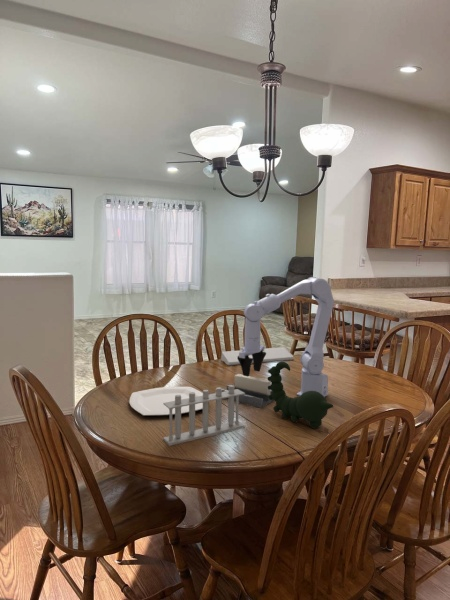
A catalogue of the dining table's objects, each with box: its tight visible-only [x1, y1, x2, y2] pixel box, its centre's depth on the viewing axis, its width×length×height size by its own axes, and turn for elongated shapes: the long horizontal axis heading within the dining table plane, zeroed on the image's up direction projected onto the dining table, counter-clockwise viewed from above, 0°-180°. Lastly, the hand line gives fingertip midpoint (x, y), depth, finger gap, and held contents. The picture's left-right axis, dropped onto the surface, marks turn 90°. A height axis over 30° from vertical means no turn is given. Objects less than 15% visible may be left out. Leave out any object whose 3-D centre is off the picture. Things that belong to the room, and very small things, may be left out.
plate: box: [128, 386, 203, 417], centre depth 150 cm, size 27×27×2 cm
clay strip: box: [233, 373, 271, 395], centre depth 158 cm, size 14×2×6 cm, turn 55°
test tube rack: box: [162, 384, 246, 446], centre depth 126 cm, size 25×4×13 cm, turn 121°
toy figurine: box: [267, 361, 334, 429], centre depth 135 cm, size 9×19×25 cm
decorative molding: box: [220, 346, 294, 366], centre depth 209 cm, size 34×5×10 cm
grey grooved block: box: [222, 381, 274, 409], centre depth 158 cm, size 18×16×3 cm
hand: (251, 373), depth 157 cm, fingers open, 7 cm apart
